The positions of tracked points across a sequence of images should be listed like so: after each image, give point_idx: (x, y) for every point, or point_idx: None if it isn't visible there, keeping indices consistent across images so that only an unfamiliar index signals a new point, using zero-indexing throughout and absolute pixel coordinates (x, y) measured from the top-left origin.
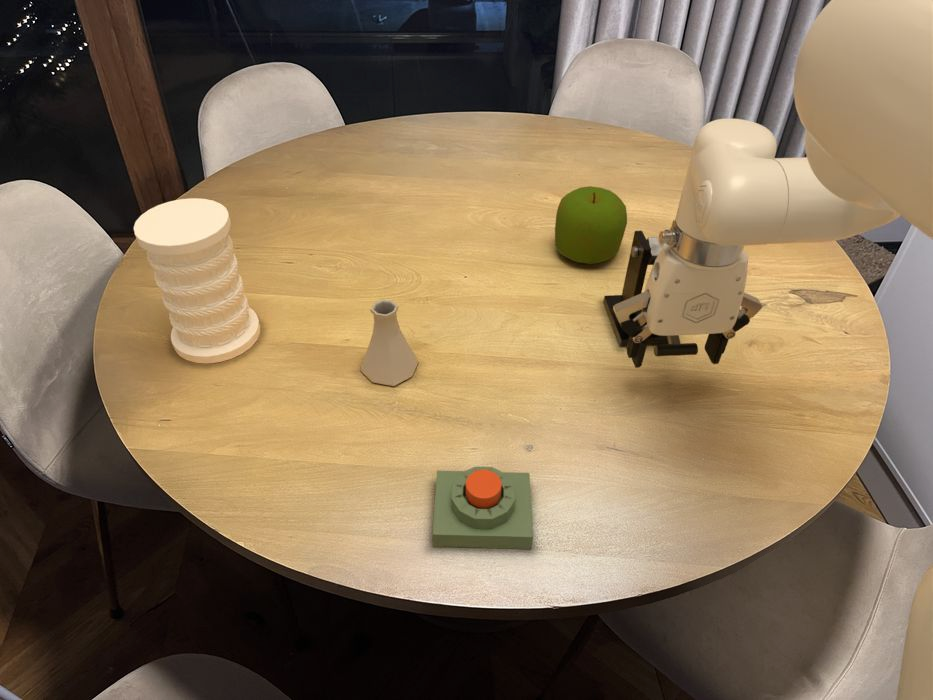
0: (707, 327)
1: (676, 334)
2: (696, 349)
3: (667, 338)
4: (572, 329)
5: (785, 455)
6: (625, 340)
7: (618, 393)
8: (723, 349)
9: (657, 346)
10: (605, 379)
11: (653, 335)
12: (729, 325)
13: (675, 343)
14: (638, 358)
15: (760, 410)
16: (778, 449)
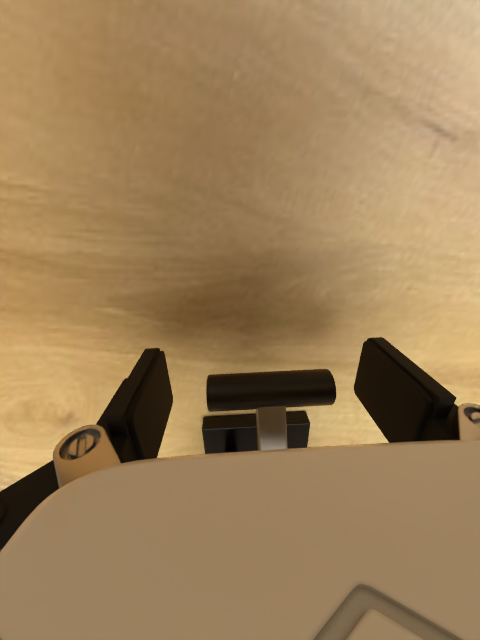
0: (227, 517)
1: (419, 449)
2: (211, 388)
3: (224, 427)
4: (366, 442)
5: (3, 73)
6: (302, 422)
7: (354, 306)
8: (124, 384)
9: (334, 398)
10: (362, 340)
11: (248, 433)
12: (44, 539)
13: (274, 408)
14: (404, 355)
15: (62, 249)
16: (23, 101)
